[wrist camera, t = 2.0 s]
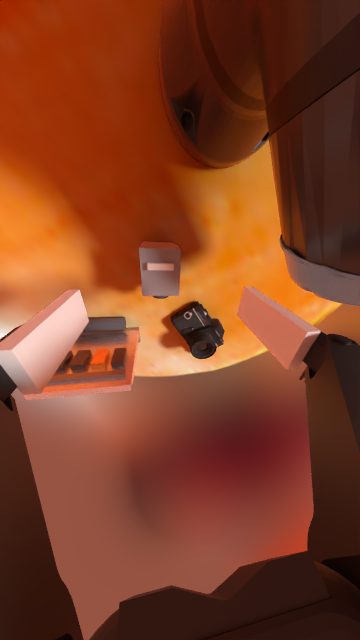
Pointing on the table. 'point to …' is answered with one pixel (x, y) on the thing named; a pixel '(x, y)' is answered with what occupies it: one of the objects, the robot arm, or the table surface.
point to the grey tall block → (160, 269)
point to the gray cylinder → (105, 324)
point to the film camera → (199, 330)
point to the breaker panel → (95, 365)
